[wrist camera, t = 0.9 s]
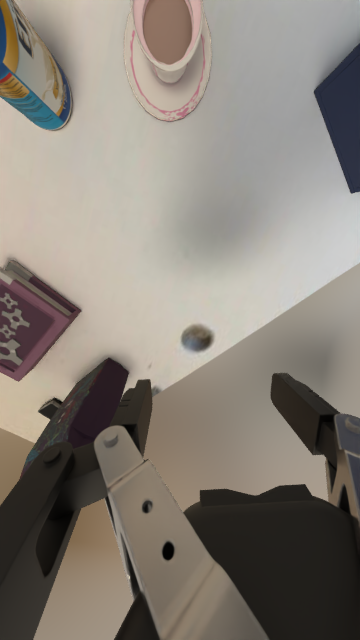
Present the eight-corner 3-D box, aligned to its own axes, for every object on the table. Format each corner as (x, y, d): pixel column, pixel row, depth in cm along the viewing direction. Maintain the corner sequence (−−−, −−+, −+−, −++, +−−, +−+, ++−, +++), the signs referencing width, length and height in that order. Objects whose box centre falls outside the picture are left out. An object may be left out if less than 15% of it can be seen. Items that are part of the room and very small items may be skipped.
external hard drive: (69, 423, 59) (65, 428, 58) (41, 405, 55) (36, 411, 54) (82, 415, 58) (79, 421, 56) (54, 396, 54) (50, 402, 52)
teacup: (220, 100, 26) (231, 63, 20) (146, 137, 27) (139, 112, 22) (196, -39, 21) (203, -139, 15) (107, 17, 22) (84, -54, 17)
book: (12, 259, 35) (-12, 262, 31) (81, 310, 41) (69, 320, 36) (-30, 333, 43) (-55, 345, 39) (32, 368, 48) (18, 382, 44)
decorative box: (131, 372, 49) (84, 514, 24) (96, 398, 54) (25, 540, 29) (109, 355, 47) (29, 496, 22) (73, 384, 51) (-26, 527, 26)
